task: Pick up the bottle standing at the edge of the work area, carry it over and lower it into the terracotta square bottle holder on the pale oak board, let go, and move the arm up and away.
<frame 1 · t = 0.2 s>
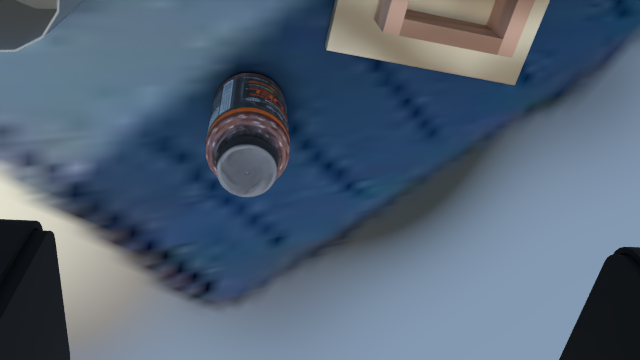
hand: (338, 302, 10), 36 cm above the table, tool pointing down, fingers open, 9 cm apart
supplement bottle: (249, 103, 47), on the table
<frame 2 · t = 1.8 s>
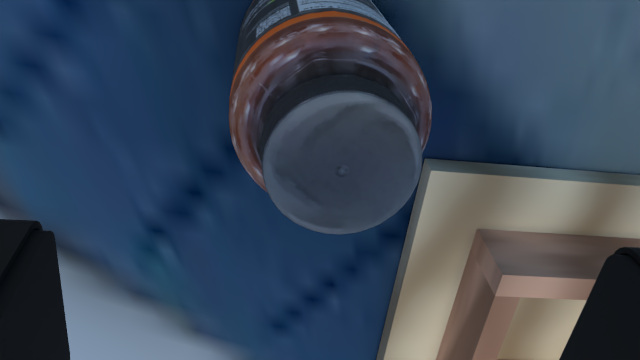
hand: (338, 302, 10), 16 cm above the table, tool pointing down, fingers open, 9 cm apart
bottle holder: (532, 295, 32), on the table
supplement bottle: (311, 40, 24), on the table
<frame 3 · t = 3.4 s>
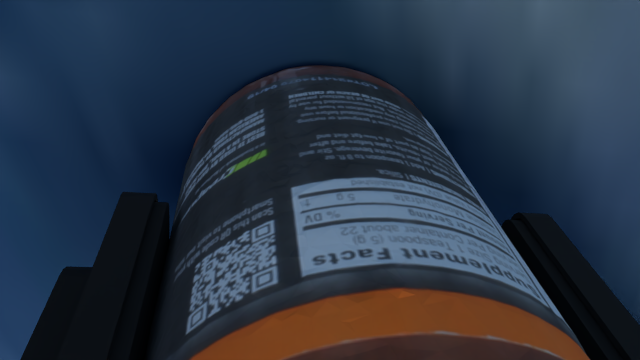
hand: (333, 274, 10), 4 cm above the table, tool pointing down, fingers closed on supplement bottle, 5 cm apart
supplement bottle: (314, 172, 14), on the table, touching gripper
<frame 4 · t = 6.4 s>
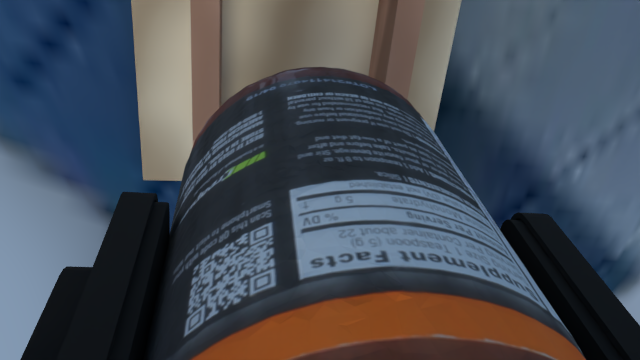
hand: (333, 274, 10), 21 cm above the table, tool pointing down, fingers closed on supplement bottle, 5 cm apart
bottle holder: (296, 39, 29), on the table
supplement bottle: (313, 174, 14), point 17 cm above the table, touching gripper
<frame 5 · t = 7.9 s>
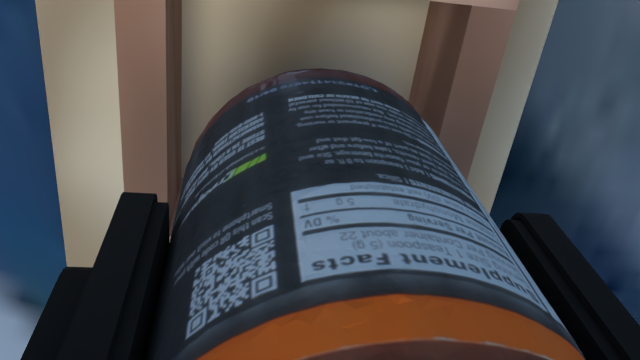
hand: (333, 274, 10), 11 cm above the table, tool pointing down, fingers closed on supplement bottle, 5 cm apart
bottle holder: (296, 73, 20), on the table
supplement bottle: (314, 175, 14), point 7 cm above the table, touching gripper
when the fingers open (6 cm above the table, at t = 9.3 s): supplement bottle drops 1 cm, resting on bottle holder.
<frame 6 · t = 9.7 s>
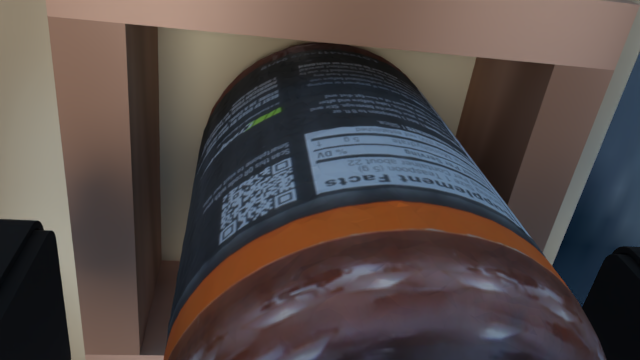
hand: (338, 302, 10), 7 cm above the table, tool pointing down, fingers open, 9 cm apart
bottle holder: (306, 129, 16), on the table
supplement bottle: (318, 144, 15), point 1 cm above the table, touching bottle holder
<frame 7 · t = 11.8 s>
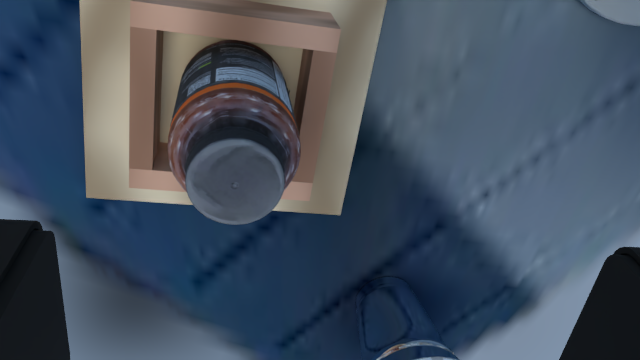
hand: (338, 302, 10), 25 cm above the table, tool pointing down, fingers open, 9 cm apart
bottle holder: (230, 81, 33), on the table
supplement bottle: (234, 86, 32), point 1 cm above the table, touching bottle holder
cup with straw: (381, 296, 44), on the table
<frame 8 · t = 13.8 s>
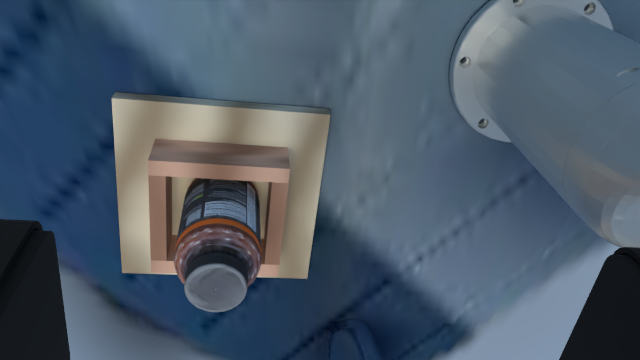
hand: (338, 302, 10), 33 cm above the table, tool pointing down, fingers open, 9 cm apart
bottle holder: (220, 190, 47), on the table
supplement bottle: (223, 196, 46), point 1 cm above the table, touching bottle holder
cup with straw: (346, 333, 57), on the table
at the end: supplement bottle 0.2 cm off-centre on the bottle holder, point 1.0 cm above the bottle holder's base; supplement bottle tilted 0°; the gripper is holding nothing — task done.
